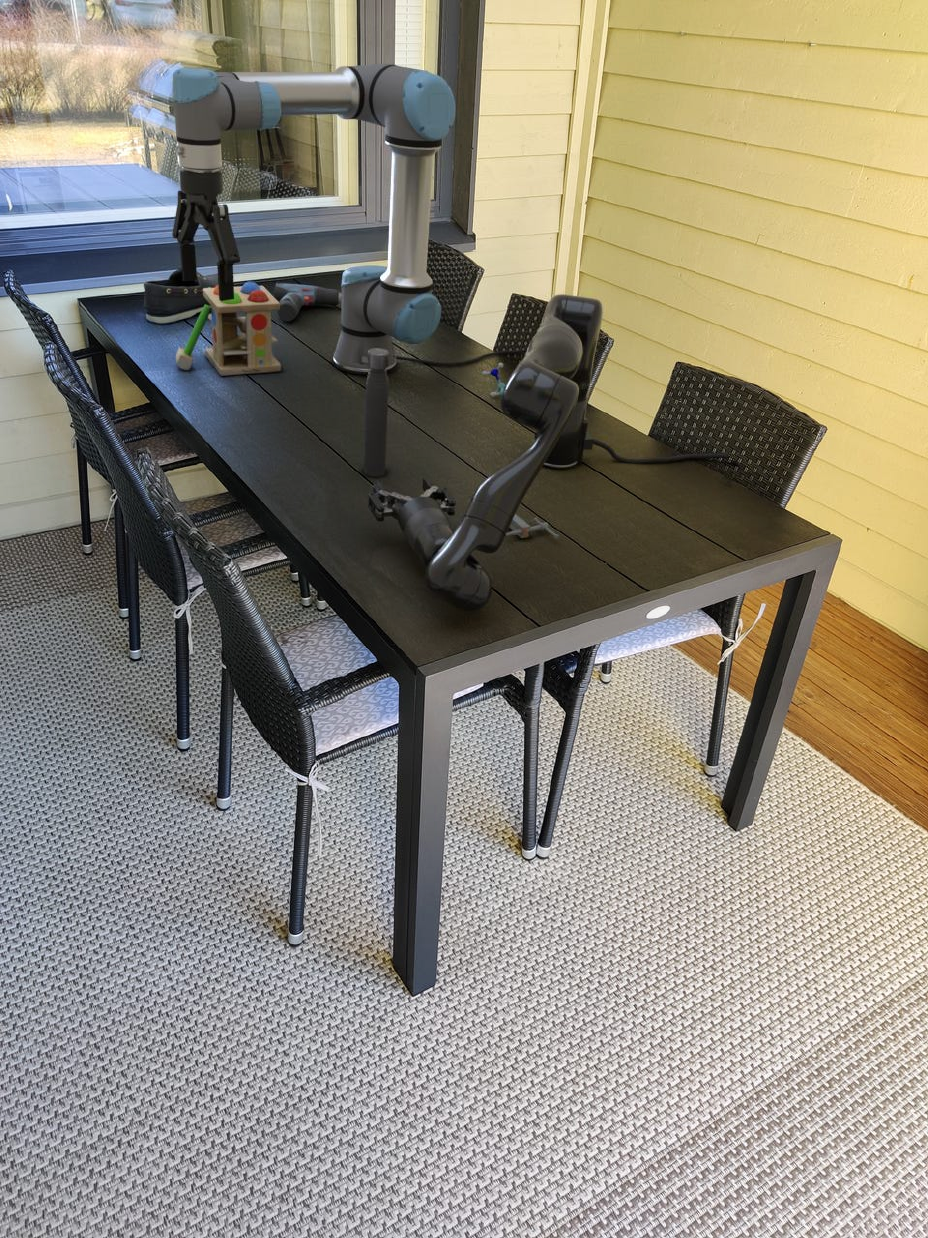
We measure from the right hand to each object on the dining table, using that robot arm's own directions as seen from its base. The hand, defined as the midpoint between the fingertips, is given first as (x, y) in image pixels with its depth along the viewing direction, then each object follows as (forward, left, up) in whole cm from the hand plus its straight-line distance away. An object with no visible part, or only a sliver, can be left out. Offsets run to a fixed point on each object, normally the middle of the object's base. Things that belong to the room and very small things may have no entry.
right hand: (401, 484), depth 172 cm
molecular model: (-39, -51, -7) cm, 64 cm away
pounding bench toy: (+21, -79, -7) cm, 82 cm away
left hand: (+27, -43, +21) cm, 55 cm away
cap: (0, -19, +17) cm, 25 cm away
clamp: (-19, +8, -7) cm, 22 cm away
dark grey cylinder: (0, -19, -7) cm, 20 cm away
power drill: (-5, -116, -7) cm, 116 cm away
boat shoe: (+24, -122, -7) cm, 125 cm away
